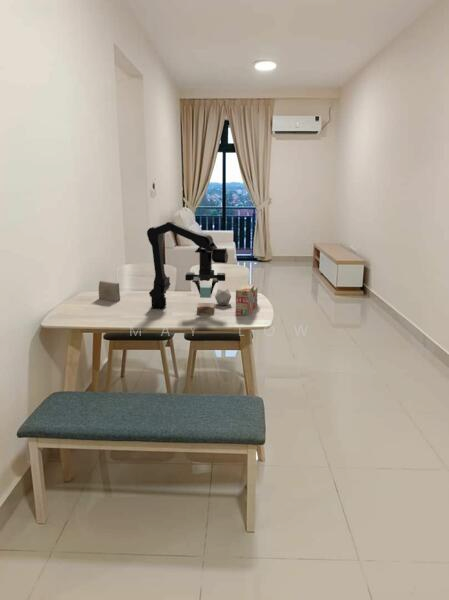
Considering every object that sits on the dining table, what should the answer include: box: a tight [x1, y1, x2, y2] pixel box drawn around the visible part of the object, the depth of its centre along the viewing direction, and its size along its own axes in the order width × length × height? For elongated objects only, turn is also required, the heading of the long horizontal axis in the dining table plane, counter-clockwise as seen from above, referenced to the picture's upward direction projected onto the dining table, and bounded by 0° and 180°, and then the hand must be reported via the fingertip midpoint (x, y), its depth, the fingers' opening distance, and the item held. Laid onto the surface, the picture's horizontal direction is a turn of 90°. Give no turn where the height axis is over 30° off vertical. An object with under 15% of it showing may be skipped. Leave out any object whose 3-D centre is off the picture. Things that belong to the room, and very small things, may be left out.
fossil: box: [98, 280, 121, 303], centre depth 233 cm, size 12×4×10 cm, turn 62°
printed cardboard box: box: [234, 283, 258, 316], centre depth 218 cm, size 21×6×12 cm, turn 164°
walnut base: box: [196, 302, 215, 315], centre depth 215 cm, size 8×8×3 cm
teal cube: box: [199, 284, 212, 299], centre depth 213 cm, size 5×5×5 cm
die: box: [214, 288, 232, 306], centre depth 227 cm, size 8×9×10 cm
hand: (205, 294), depth 213 cm, fingers closed on teal cube, 5 cm apart
